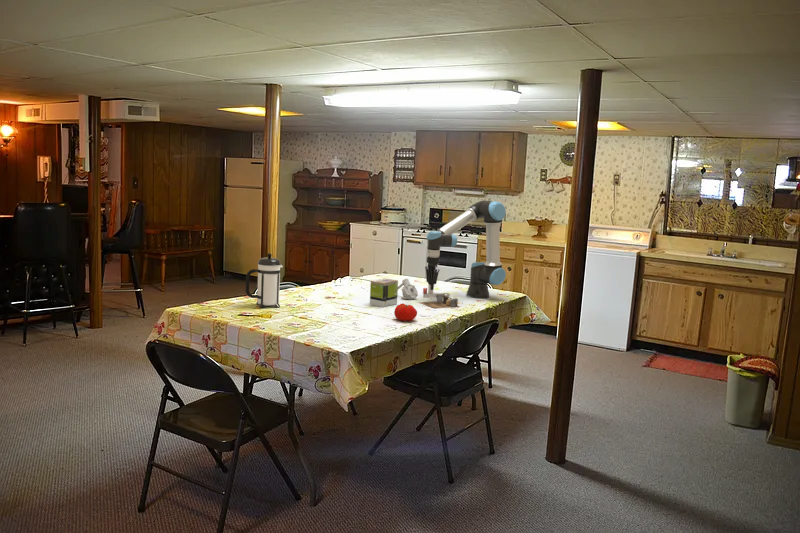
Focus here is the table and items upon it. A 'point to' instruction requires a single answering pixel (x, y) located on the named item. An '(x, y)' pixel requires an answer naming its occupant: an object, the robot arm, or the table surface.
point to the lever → (435, 295)
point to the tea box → (383, 292)
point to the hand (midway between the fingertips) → (430, 294)
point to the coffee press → (266, 281)
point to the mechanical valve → (408, 290)
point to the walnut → (448, 302)
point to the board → (441, 304)
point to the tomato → (405, 312)
